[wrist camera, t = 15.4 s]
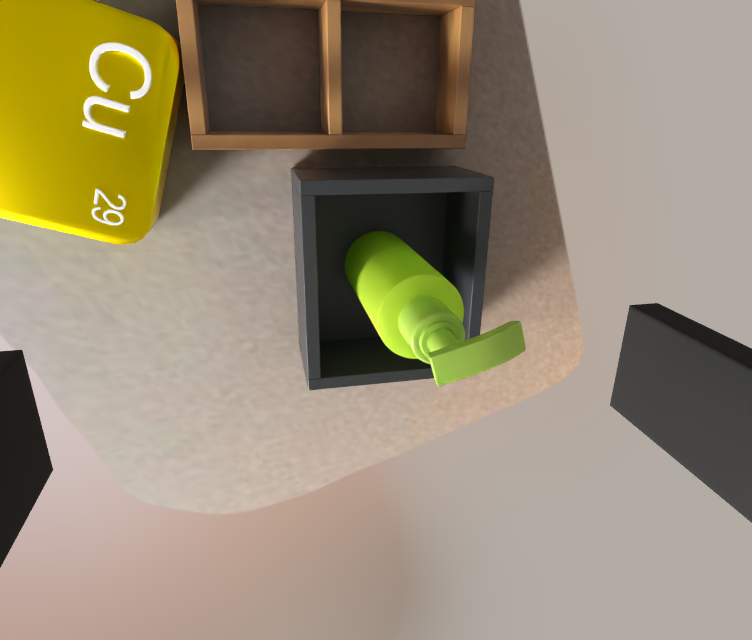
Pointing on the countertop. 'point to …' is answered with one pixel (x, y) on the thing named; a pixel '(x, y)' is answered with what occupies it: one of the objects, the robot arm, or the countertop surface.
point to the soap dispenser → (422, 310)
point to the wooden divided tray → (340, 78)
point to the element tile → (85, 117)
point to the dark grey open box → (394, 215)
